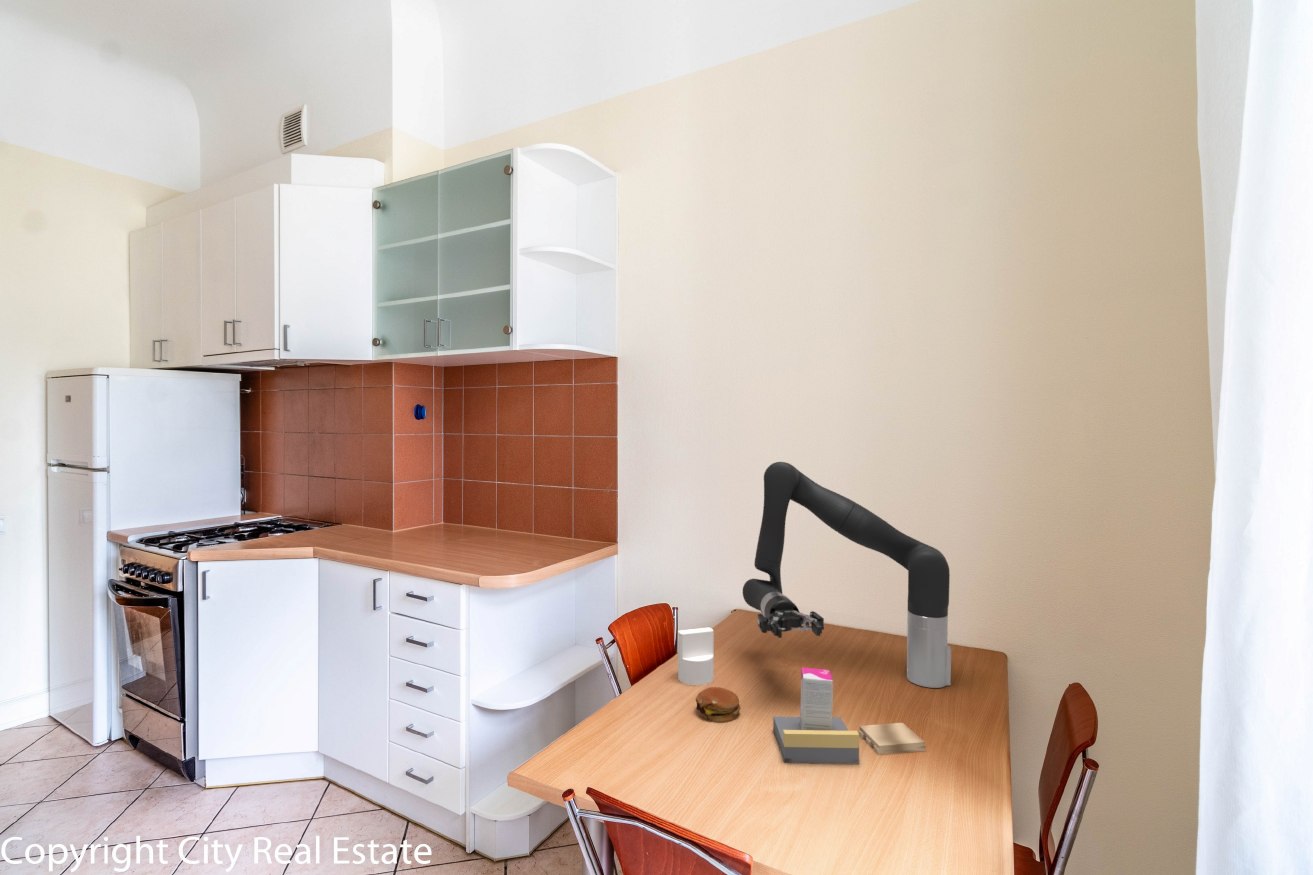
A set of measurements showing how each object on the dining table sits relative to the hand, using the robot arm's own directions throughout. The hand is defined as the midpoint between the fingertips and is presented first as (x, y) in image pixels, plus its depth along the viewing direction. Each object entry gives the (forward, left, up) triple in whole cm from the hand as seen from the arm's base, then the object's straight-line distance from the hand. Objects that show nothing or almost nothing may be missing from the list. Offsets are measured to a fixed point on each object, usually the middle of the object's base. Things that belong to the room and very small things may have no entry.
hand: (799, 632), depth 129 cm
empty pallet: (-17, +9, -19) cm, 27 cm away
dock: (-1, +11, -19) cm, 22 cm away
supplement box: (-1, +11, -16) cm, 19 cm away
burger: (+17, -3, -19) cm, 26 cm away
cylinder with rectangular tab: (+21, -21, -19) cm, 36 cm away
